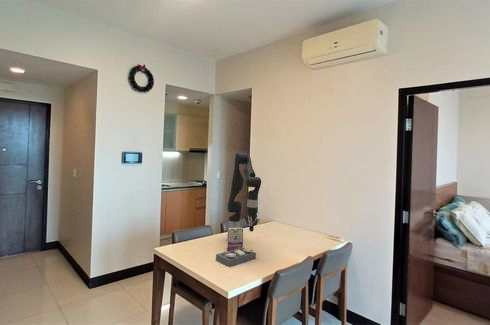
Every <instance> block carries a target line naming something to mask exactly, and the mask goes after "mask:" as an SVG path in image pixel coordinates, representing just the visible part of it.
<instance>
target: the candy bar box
mask: <svg viewBox="0 0 490 325" xmlns="http://www.w3.org/2000/svg"><path fill="white" fill-rule="evenodd" d="M227 234H228V241H227V247H226V248H227V251H231V250H234V249H238V248H244V247H243V246H244V228H243V227H240V228H229V227H227Z"/></svg>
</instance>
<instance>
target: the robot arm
mask: <svg viewBox="0 0 490 325" xmlns="http://www.w3.org/2000/svg"><path fill="white" fill-rule="evenodd" d="M250 155H251V154H250V153H249V152H242V151H237V152H236V153H235V156H234V169H233V175H232V178H231V179H232V180H231V187H230V194H229V198H228V203H227V211H228V213H234V214H232V215H230V216H229V217H228V228H241V215H242V202H241V200H235V199H236V198H237V196H238V195H239V193H240V192H242V190H243V187H244V181H245V185H246V186H247V187H248V188H253V190H252V189H251V190H248V192H247V200H246V213H247V214H246V215H245V216H244V220H245V222H246V225H248V227H249V228H248V229H249V232H251V233H252V232H254V227H255V226H257V225H258V223H259V222H260V221H261V220H260V218H258V213H259V212H258V211H259V193H260V188H261V185H262V179H261V178H260V177H258V176H256V172H255V170H254V168H253V163H252V158H251V156H250ZM240 165H245V166H244V168H243V174H244V175H245V180H244V177H243V174H242V173H241V169H240ZM226 241H227V242H228V233H227V236H226Z"/></svg>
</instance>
